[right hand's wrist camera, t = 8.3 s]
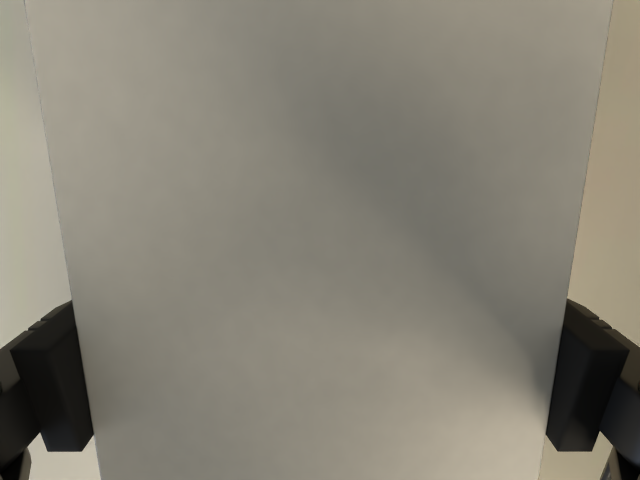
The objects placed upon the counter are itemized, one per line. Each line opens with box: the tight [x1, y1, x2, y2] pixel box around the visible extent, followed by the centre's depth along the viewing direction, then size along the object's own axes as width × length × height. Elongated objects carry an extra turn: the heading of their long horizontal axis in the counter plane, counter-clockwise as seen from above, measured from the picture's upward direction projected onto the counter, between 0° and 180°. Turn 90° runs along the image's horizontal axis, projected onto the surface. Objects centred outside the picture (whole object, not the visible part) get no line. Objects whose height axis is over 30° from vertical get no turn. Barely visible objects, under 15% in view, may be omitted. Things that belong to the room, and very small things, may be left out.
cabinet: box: [24, 0, 613, 480], centre depth 11 cm, size 17×10×9 cm, turn 0°
